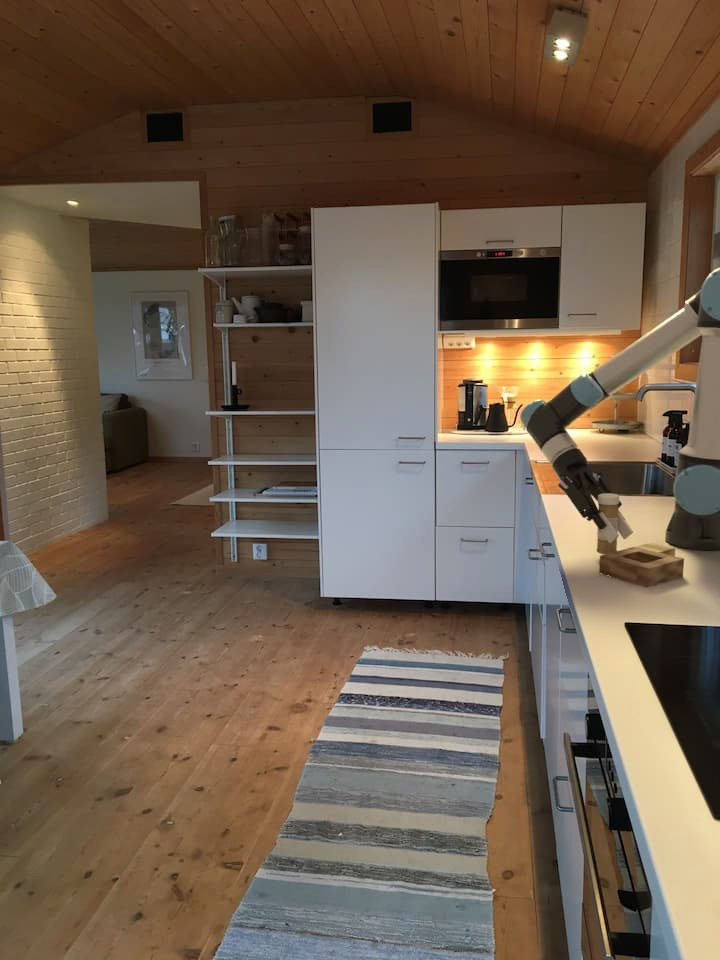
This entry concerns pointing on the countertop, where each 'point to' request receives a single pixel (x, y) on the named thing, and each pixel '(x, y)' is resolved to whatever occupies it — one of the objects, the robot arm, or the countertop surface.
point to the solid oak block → (658, 548)
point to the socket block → (641, 566)
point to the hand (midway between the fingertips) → (621, 537)
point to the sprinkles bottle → (610, 510)
